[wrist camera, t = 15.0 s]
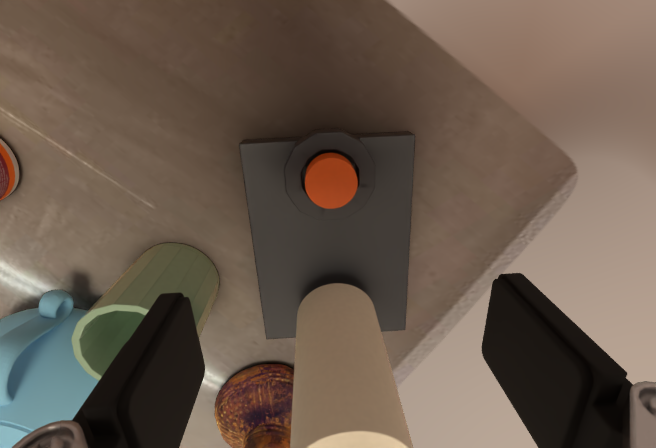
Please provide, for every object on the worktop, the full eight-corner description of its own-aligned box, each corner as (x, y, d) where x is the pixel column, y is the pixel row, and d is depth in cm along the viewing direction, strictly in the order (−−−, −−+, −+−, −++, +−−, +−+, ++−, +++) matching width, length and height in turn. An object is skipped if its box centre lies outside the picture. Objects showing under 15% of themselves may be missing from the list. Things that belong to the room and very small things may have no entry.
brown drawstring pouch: (320, 354, 36) (322, 419, 29) (330, 435, 41) (334, 506, 34) (205, 366, 36) (181, 434, 29) (229, 446, 41) (213, 519, 34)
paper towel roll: (294, 285, 29) (280, 463, 15) (375, 280, 29) (429, 451, 16) (300, 349, 31) (292, 548, 18) (374, 344, 31) (421, 537, 18)
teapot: (168, 431, 39) (108, 582, 28) (-29, 416, 37) (-185, 573, 25) (169, 280, 32) (87, 398, 20) (-77, 250, 30) (-328, 362, 18)
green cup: (151, 228, 30) (89, 287, 22) (232, 264, 31) (204, 332, 23) (123, 294, 32) (59, 370, 24) (201, 324, 34) (165, 405, 26)
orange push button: (303, 153, 25) (303, 159, 23) (354, 151, 25) (357, 156, 23) (306, 202, 26) (306, 210, 25) (355, 199, 26) (358, 207, 25)
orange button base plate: (241, 130, 27) (232, 137, 24) (410, 121, 27) (423, 127, 24) (268, 327, 34) (263, 353, 31) (401, 318, 35) (410, 343, 31)
